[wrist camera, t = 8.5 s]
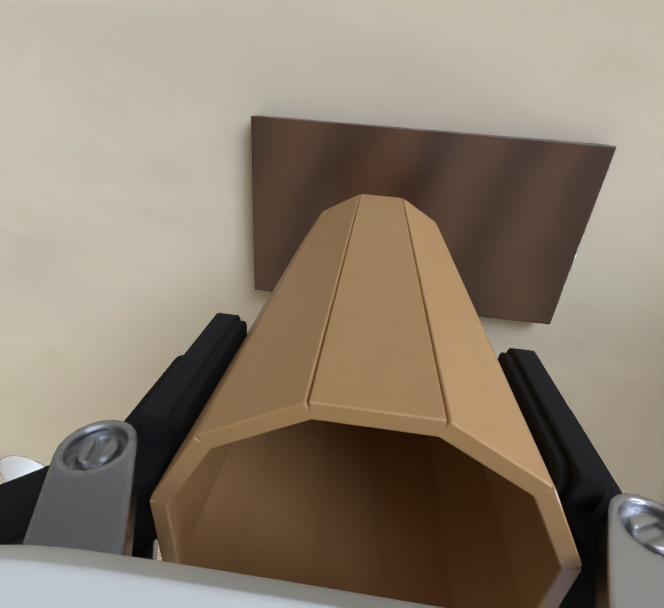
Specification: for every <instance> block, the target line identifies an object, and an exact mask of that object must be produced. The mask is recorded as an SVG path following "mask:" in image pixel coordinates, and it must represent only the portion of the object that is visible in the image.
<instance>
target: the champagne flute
mask: <svg viewBox="0 0 664 608" xmlns="http://www.w3.org/2000/svg"><path fill="white" fill-rule="evenodd" d="M41 468H44V466H42V465H41V464H39V463H37V462H35V461H33V460H31V459H28V458H25V457H20V456H9V457H6V458H4V459H2V460H1V462H0V473H1V476H2V478H3V480H4V482H5V483H6V482H8V481H11V480H13V479H16V478H18V477H21V476H23V475H26V474H28V473H31V472H33V471H36V470H39V469H41Z"/></svg>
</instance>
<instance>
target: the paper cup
mask: <svg viewBox="0 0 664 608" xmlns="http://www.w3.org/2000/svg"><path fill="white" fill-rule="evenodd" d="M150 506H151V510H152V515H153V520H154V524H155V529H156V533H157V538H158V543H159V547H160V552H161V557H162V561H165V562H171V563H177V564H183V565H189V566H196V567H202V568H208V569H214V570H220V571H227V572H233V573H239V574H245V575H251V576H257V577H264V578H270V579H276V580H282V581H288V582H294V583H300V584H306V585H312V586H318V587H324V588H330V589H336V590H342V591H348V592H354V593H360V594H366V595H372V596H378V597H384V598H390V599H396V600H402V601H408V602H414V603H419V604H425V605H431V606H437V607H443V608H558V607H559V605H560V603H561V602H562V600H563V599H564V597H565V595H566V594H567V592H568V591H569V589H570V587H571V586H572V584H573V583H574V581H575V579H576V578H577V576H578V575H579V573H580V571H581V566H582V563H581V560H580V557H579V554H578V551H577V548H576V545H575V543H574V540H573V537H572V534H571V531H570V528H569V525H568V523H567V520H566V517H565V514H564V511H563V508H562V505H561V503H560V500H559V497H558V494H557V491H556V488H555V486H554V484H553V482H552V480H551V477H550V475H549V473H548V471H547V468H546V466H545V464H544V462H543V460H542V457H541V455H540V453H539V451H538V448H537V446H536V444H535V442H534V440H533V437H532V435H531V433H530V431H529V428H528V426H527V424H526V422H525V420H524V417H523V415H522V413H521V411H520V408H519V406H518V404H517V402H516V399H515V397H514V395H513V393H512V391H511V388H510V386H509V384H508V382H507V379H506V377H505V375H504V373H503V371H502V368H501V366H500V364H499V362H498V359H497V357H496V355H495V353H494V351H493V348H492V346H491V344H490V342H489V339H488V337H487V335H486V333H485V331H484V328H483V326H482V324H481V322H480V319H479V317H478V315H477V313H476V311H475V308H474V306H473V304H472V302H471V299H470V297H469V295H468V293H467V290H466V288H465V286H464V284H463V282H462V279H461V277H460V275H459V273H458V270H457V268H456V266H455V264H454V262H453V259H452V257H451V255H450V253H449V250H448V248H447V246H446V244H445V242H444V239H443V237H442V235H441V233H440V230H439V228H438V226H437V224H436V223H435V222H434V221H433V220H432V219H430V218H429V217H428V216H426V215H425V214H424V213H422V212H421V211H420V210H418V209H417V208H416V207H414V206H413V205H412V204H410V203H409V202H408V201H406V200H405V199H402V198H398V197H387V196H377V195H366V194H361V196H360V195H357V196H355V197H353V198H350V199H348V200H346V201H344V202H342V203H340V204H337V205H335V206H333V207H331V208H329V209H327V210H325V211H323V212H322V213H321V215H320V216H319V218H318V219H317V221H316V222H315V224H314V225H313V226H312V228H311V229H310V231H309V232H308V234H307V235H306V237H305V238H304V240H303V241H302V243H301V245H300V246H299V248H298V250H297V251H296V253H295V255H294V256H293V258H292V260H291V261H290V263H289V265H288V266H287V268H286V270H285V271H284V273H283V275H282V276H281V278H280V280H279V282H278V283H277V285H276V287H275V288H274V290H273V292H272V293H271V295H270V297H269V298H268V300H267V302H266V303H265V305H264V307H263V308H262V310H261V312H260V313H259V315H258V317H257V318H256V320H255V322H254V324H253V325H252V327H251V329H250V330H249V332H248V334H247V335H246V337H245V339H244V340H243V342H242V344H241V345H240V347H239V349H238V350H237V352H236V354H235V355H234V357H233V359H232V361H231V362H230V364H229V366H228V367H227V369H226V371H225V372H224V374H223V376H222V377H221V379H220V381H219V382H218V384H217V386H216V387H215V389H214V391H213V392H212V394H211V396H210V397H209V399H208V401H207V403H206V404H205V406H204V408H203V409H202V411H201V413H200V414H199V416H198V418H197V419H196V421H195V423H194V424H193V426H192V428H191V429H190V431H189V433H188V434H187V436H186V438H185V439H184V441H183V443H182V444H181V446H180V448H179V449H178V451H177V453H176V454H175V456H174V458H173V460H172V461H171V463H170V465H169V466H168V468H167V470H166V471H165V473H164V475H163V476H162V478H161V480H160V481H159V483H158V485H157V486H156V488H155V490H154V491H153V493H152V495H151V499H150Z"/></svg>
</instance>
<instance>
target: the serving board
mask: <svg viewBox="0 0 664 608" xmlns="http://www.w3.org/2000/svg"><path fill="white" fill-rule="evenodd" d="M251 130H252V176H253V223H254V270H255V290H263V291H271V292H273V290H274V288H275V287H276V285H277V283H278V282H279V280H280V278H281V276H282V275H283V273H284V271H285V270H286V268H287V266H288V265H289V263H290V261H291V260H292V258H293V256H294V255H295V253H296V251H297V250H298V248H299V246H300V245H301V243H302V241H303V240H304V238H305V237H306V235H307V234H308V232H309V231H310V229H311V228H312V226H313V225H314V224H315V222H316V221H317V219H318V218H319V216H320V215H321V213H322V212H323V211H325V210H327V209H329V208H331V207H333V206H335V205H337V204H340V203H342V202H344V201H346V200H348V199H350V198H353V197H355V196H357V195H360V196H361V194H366V195H377V196H387V197H398V198H402V199H405V200H406V201H408V202H409V203H410V204H412V205H413V206H414V207H416V208H417V209H418V210H420V211H421V212H422V213H424V214H425V215H426V216H428V217H429V218H430V219H432V220H433V221H434V222H435V223H436V224H437V226H438V228H439V230H440V233H441V235H442V237H443V239H444V242H445V244H446V246H447V248H448V250H449V253H450V255H451V257H452V259H453V262H454V264H455V266H456V268H457V270H458V273H459V275H460V277H461V279H462V282H463V284H464V286H465V288H466V290H467V293H468V295H469V297H470V299H471V302H472V304H473V306H474V308H475V311H476V313H477V315H478V316H483V317H491V318H500V319H508V320H517V321H525V322H533V323H542V324H550V323H551V320H552V317H553V315H554V312H555V309H556V307H557V304H558V301H559V299H560V296H561V293H562V291H563V288H564V285H565V283H566V280H567V277H568V275H569V272H570V269H571V267H572V264H573V261H574V259H575V256H576V253H577V251H578V248H579V245H580V243H581V240H582V237H583V235H584V232H585V229H586V227H587V224H588V221H589V219H590V216H591V213H592V211H593V208H594V205H595V203H596V200H597V198H598V195H599V192H600V190H601V187H602V184H603V182H604V179H605V176H606V174H607V171H608V168H609V166H610V163H611V160H612V158H613V155H614V152H615V150H616V146H610V145H604V144H592V143H580V142H568V141H556V140H544V139H532V138H520V137H508V136H496V135H484V134H472V133H460V132H448V131H437V130H425V129H413V128H401V127H389V126H377V125H365V124H353V123H341V122H329V121H317V120H305V119H293V118H281V117H269V116H251Z"/></svg>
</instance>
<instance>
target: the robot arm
mask: <svg viewBox="0 0 664 608" xmlns="http://www.w3.org/2000/svg"><path fill="white" fill-rule="evenodd" d="M246 335H247V325H246V322H245V321H241V320H240V317H239V315H232V314H223V313H217V314H216V315H215V317H214V318H213V319H212V320H211V322H210V323H209V324H208V325H207V327H206V328H205V329H204V330H203V332H202V333H201V334H200V336H199V337H198V338H197V339H196V341H195V342H194V343H193V344H192V346H191V347H190V348H189V349H188V351H187V352H186V353H185V354H184V356H183V355H181V356H178V357H177V358H176V359H175V360H174V361H173V362H172V364H171V365H170V366H169V367H168V368H167V370H166V371H165V372H164V373H163V374H162V376H161V377H160V378H159V379H158V381H157V382H156V383H155V384H154V385H153V387H152V388H151V389H150V390H149V392H148V393H147V394H146V395H145V396H144V398H143V399H142V400H141V401H140V403H139V404H138V405H137V406H136V407H135V409H134V410H133V411H132V412H131V414H130V415H129V416H128V417H127V418H126V420H125V421H118V420H105V421H99V422H95V423H91V424H89V425H87V426H84V427H82V428H80V429H78V430H76V431H75V432H73V433H72V434H70V435H69V436H67V437H66V438H65V439H64V440H63V441H62V442H61V443H60V444H59V446H58V447H57V449H56V451H55V453H54V455H53V458H52V461H51V464H50V465H49V466H46V467H44V468H41V469H39V470H36V471H33V472H31V473H28V474H26V475H23V476H21V477H18V478H16V479H13V480H11V481H8V482H6V483H3V484H0V608H443V607H437V606H431V605H425V604H419V603H414V602H408V601H402V600H396V599H390V598H384V597H378V596H372V595H366V594H360V593H354V592H348V591H342V590H336V589H330V588H324V587H318V586H312V585H306V584H300V583H294V582H288V581H282V580H276V579H270V578H264V577H257V576H251V575H245V574H239V573H233V572H227V571H220V570H214V569H208V568H202V567H196V566H189V565H183V564H177V563H171V562H165V561H159V560H157V551H158V538H157V533H156V529H155V524H154V520H153V515H152V510H151V506H150V499H151V495H152V493H153V491H154V490H155V488H156V486H157V485H158V483H159V481H160V480H161V478H162V476H163V475H164V473H165V471H166V470H167V468H168V466H169V465H170V463H171V461H172V460H173V458H174V456H175V454H176V453H177V451H178V449H179V448H180V446H181V444H182V443H183V441H184V439H185V438H186V436H187V434H188V433H189V431H190V429H191V428H192V426H193V424H194V423H195V421H196V419H197V418H198V416H199V414H200V413H201V411H202V409H203V408H204V406H205V404H206V403H207V401H208V399H209V397H210V396H211V394H212V392H213V391H214V389H215V387H216V386H217V384H218V382H219V381H220V379H221V377H222V376H223V374H224V372H225V371H226V369H227V367H228V366H229V364H230V362H231V361H232V359H233V357H234V355H235V354H236V352H237V350H238V349H239V347H240V345H241V344H242V342H243V340H244V339H245V337H246ZM498 362H499V364H500V366H501V368H502V371H503V373H504V375H505V377H506V379H507V382H508V384H509V386H510V388H511V391H512V393H513V395H514V397H515V399H516V402H517V404H518V406H519V408H520V411H521V413H522V415H523V417H524V420H525V422H526V424H527V426H528V428H529V431H530V433H531V435H532V437H533V440H534V442H535V444H536V446H537V448H538V451H539V453H540V455H541V457H542V460H543V462H544V464H545V466H546V468H547V471H548V473H549V475H550V477H551V480H552V482H553V484H554V486H555V488H556V491H557V494H558V497H559V500H560V503H561V505H562V508H563V511H564V514H565V517H566V520H567V523H568V525H569V528H570V531H571V534H572V537H573V540H574V543H575V545H576V548H577V551H578V554H579V557H580V560H581V563H582V566H581V571H580V573H579V575H578V576H577V578H576V579H575V581H574V583H573V584H572V586H571V587H570V589H569V591H568V592H567V594H566V595H565V597H564V599H563V600H562V602H561V603H560V605H559V607H558V608H664V505H662V504H660V503H658V502H656V501H654V500H652V499H649V498H646V497H643V496H640V495H636V494H628V493H624V494H623V493H622V492H621V490H620V489H619V487H618V485H617V484H616V482H615V480H614V479H613V477H612V476H611V474H610V472H609V471H608V469H607V468H606V466H605V464H604V463H603V461H602V459H601V458H600V456H599V455H598V453H597V451H596V450H595V448H594V446H593V445H592V443H591V442H590V440H589V438H588V437H587V435H586V433H585V432H584V430H583V429H582V427H581V425H580V424H579V422H578V420H577V419H576V417H575V416H574V414H573V412H572V411H571V410H570V408H569V407H568V405H567V403H566V402H565V400H564V399H563V397H562V395H561V394H560V392H559V390H558V389H557V387H556V386H555V384H554V382H553V381H552V379H551V377H550V376H549V374H548V373H547V371H546V369H545V368H544V366H543V364H542V363H541V361H540V360H539V358H538V356H537V355H536V353H535V352H534V351H531V350H523V349H514V348H510V349H508V351H507V352H506V353H501V354H500V355H499V357H498Z"/></svg>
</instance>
